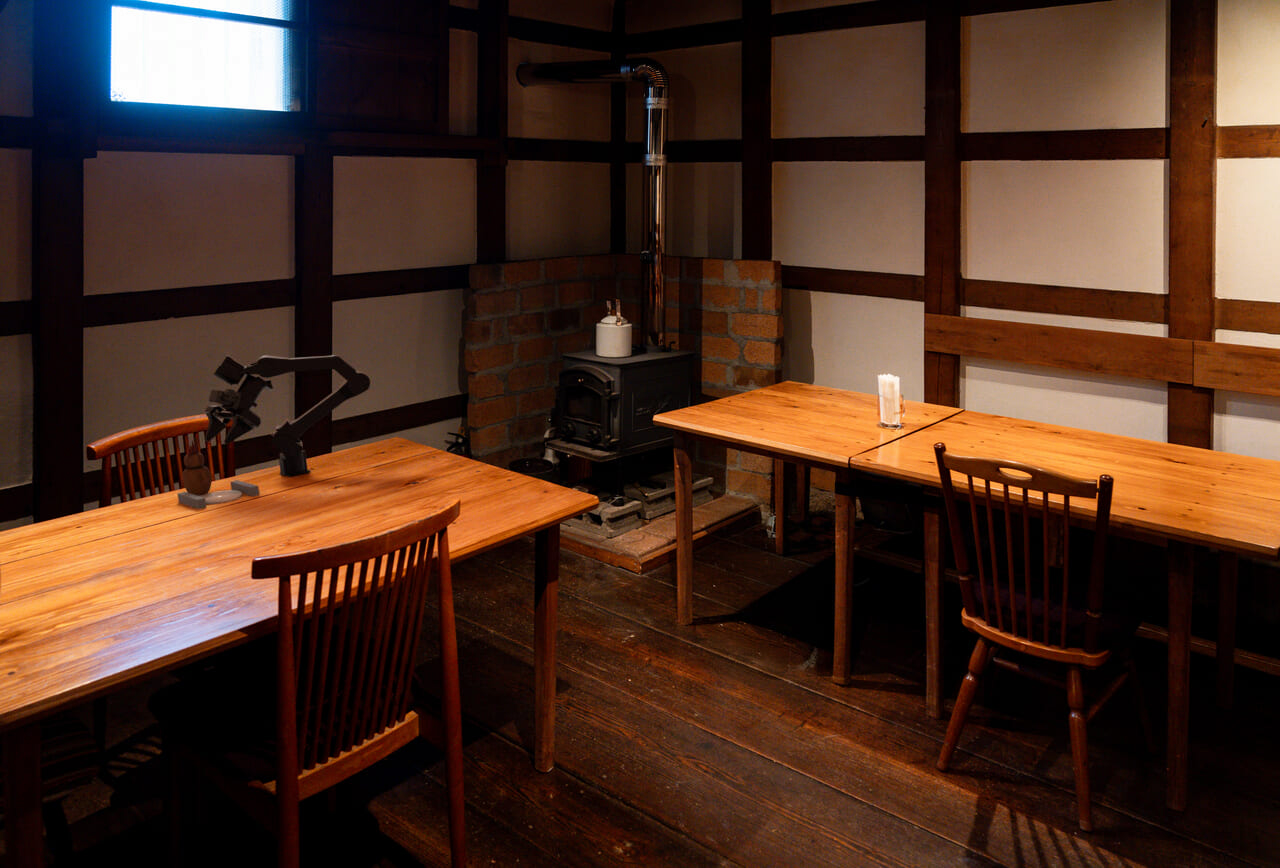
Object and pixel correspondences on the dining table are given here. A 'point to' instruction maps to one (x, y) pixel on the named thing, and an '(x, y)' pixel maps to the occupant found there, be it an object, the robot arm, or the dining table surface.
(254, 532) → the dining table surface
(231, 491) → the coaster
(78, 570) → the dining table surface
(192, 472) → the wooden figurine
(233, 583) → the dining table surface
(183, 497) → the twin grey foam blocks
